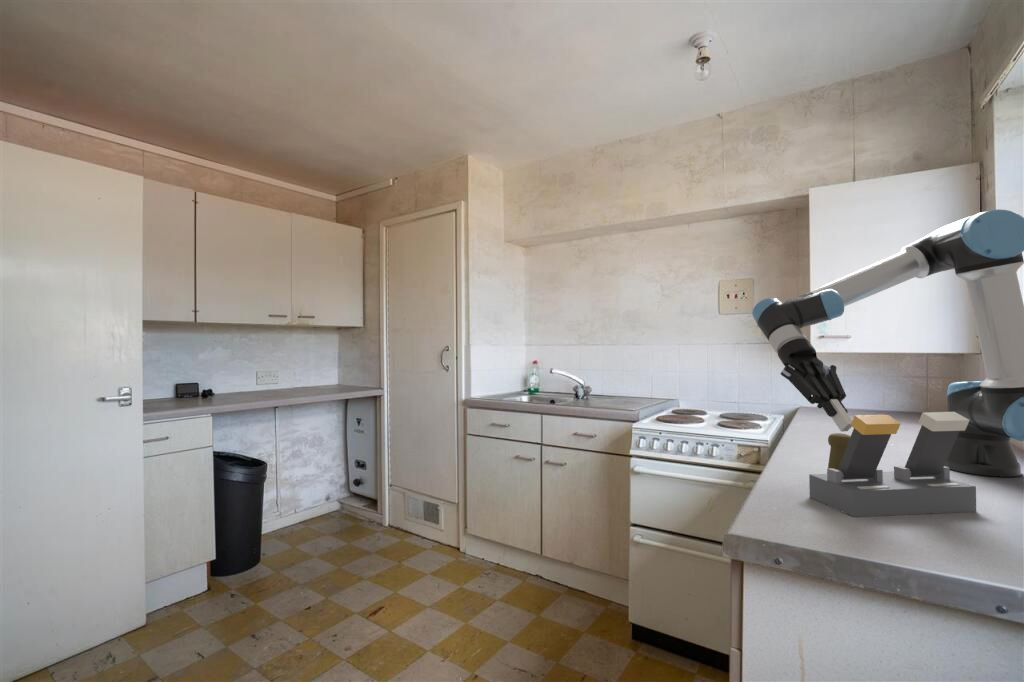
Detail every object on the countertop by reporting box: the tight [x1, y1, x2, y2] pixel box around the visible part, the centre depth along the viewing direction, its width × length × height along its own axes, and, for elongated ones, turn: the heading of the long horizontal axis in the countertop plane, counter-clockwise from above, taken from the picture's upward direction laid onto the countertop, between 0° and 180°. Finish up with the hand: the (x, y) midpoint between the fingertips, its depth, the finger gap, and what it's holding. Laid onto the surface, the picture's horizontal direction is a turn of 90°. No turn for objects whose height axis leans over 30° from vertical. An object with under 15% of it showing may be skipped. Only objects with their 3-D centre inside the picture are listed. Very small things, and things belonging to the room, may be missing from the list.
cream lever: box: [904, 411, 970, 478], centre depth 97 cm, size 3×7×15 cm, turn 95°
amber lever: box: [838, 413, 901, 480], centre depth 96 cm, size 3×7×15 cm, turn 95°
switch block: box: [808, 465, 977, 517], centre depth 99 cm, size 26×12×8 cm, turn 95°
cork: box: [827, 432, 851, 470], centre depth 119 cm, size 6×6×11 cm
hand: (847, 427), depth 100 cm, fingers closed
